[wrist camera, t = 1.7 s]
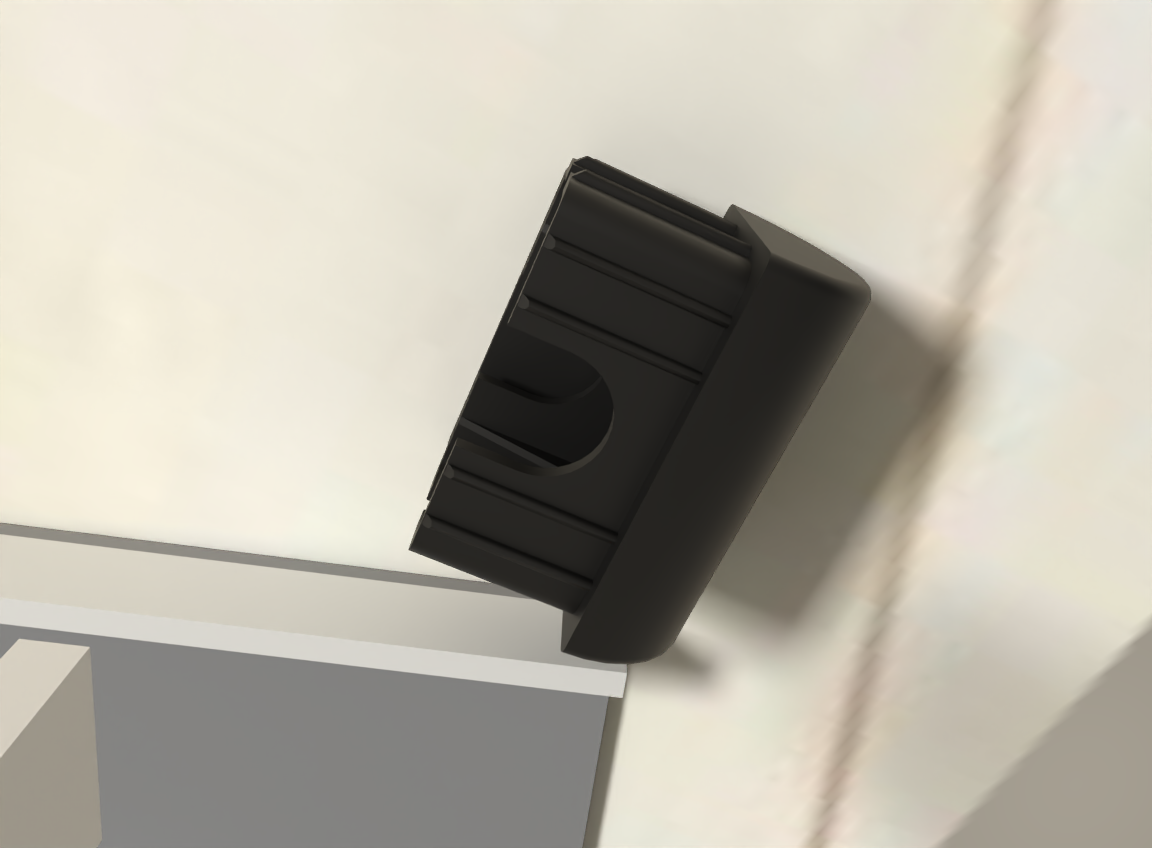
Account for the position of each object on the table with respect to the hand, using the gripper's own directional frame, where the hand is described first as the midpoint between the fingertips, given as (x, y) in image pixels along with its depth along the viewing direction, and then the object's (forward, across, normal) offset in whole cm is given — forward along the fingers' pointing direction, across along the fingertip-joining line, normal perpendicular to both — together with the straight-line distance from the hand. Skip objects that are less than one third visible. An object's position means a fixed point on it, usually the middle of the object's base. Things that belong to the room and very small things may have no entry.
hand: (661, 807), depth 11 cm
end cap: (+17, 0, 0) cm, 17 cm away
